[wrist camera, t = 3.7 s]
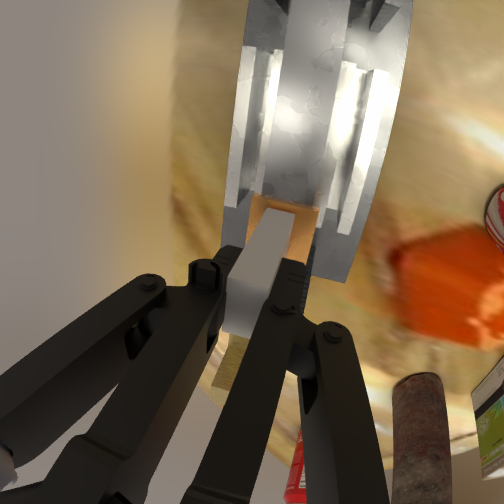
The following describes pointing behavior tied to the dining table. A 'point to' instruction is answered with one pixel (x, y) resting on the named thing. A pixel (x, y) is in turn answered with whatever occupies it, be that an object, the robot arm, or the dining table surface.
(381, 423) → the dining table surface
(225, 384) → the beige wooden l-shaped block
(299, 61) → the grey flat bar
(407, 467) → the candle
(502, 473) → the tea box
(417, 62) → the dining table surface
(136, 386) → the robot arm
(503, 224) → the beverage can
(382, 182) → the dining table surface
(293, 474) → the soda can
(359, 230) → the heatsink
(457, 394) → the dining table surface
